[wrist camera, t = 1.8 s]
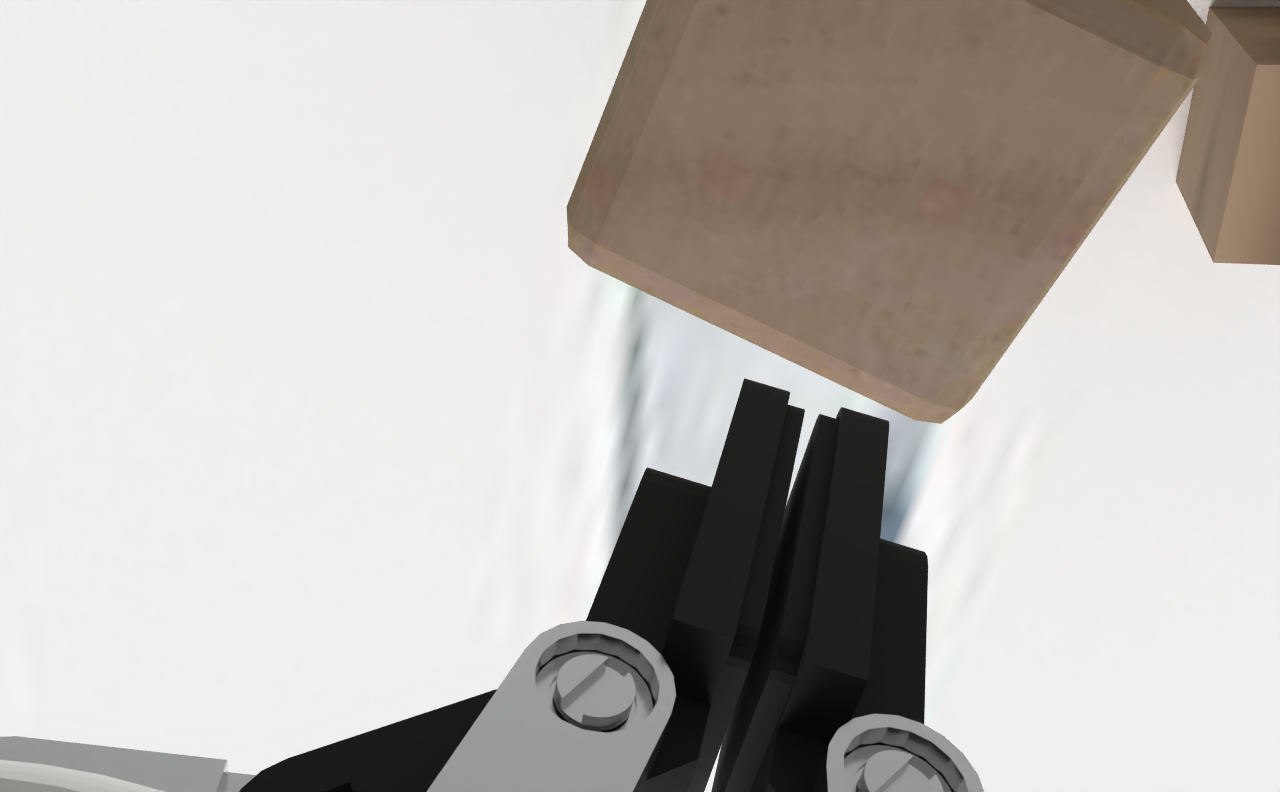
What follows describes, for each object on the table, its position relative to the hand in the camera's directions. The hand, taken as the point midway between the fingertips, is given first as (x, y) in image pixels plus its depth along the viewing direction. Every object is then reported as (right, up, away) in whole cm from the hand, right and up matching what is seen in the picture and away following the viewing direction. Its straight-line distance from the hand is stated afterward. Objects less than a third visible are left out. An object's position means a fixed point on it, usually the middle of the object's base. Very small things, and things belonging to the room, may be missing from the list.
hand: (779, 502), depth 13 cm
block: (+7, +16, +26) cm, 31 cm away
